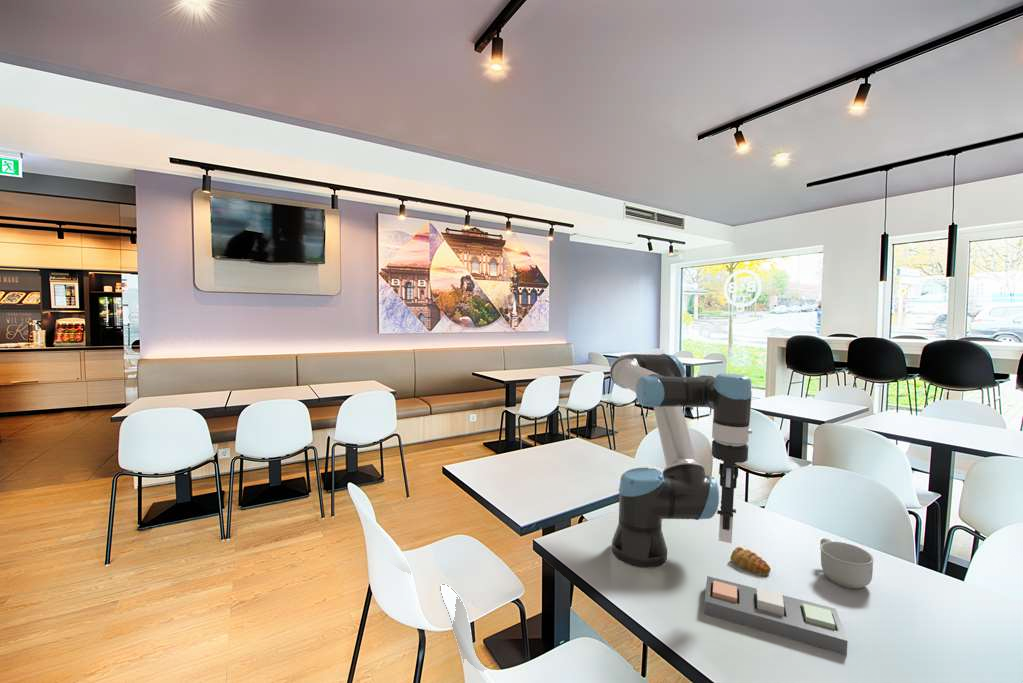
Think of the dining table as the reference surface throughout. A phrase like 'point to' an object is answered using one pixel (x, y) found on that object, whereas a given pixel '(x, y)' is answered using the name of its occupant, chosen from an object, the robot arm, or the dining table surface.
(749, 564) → the pastry
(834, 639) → the keypad
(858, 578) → the teacup
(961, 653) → the dining table surface
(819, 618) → the sage key
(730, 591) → the terracotta key
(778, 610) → the cream key
